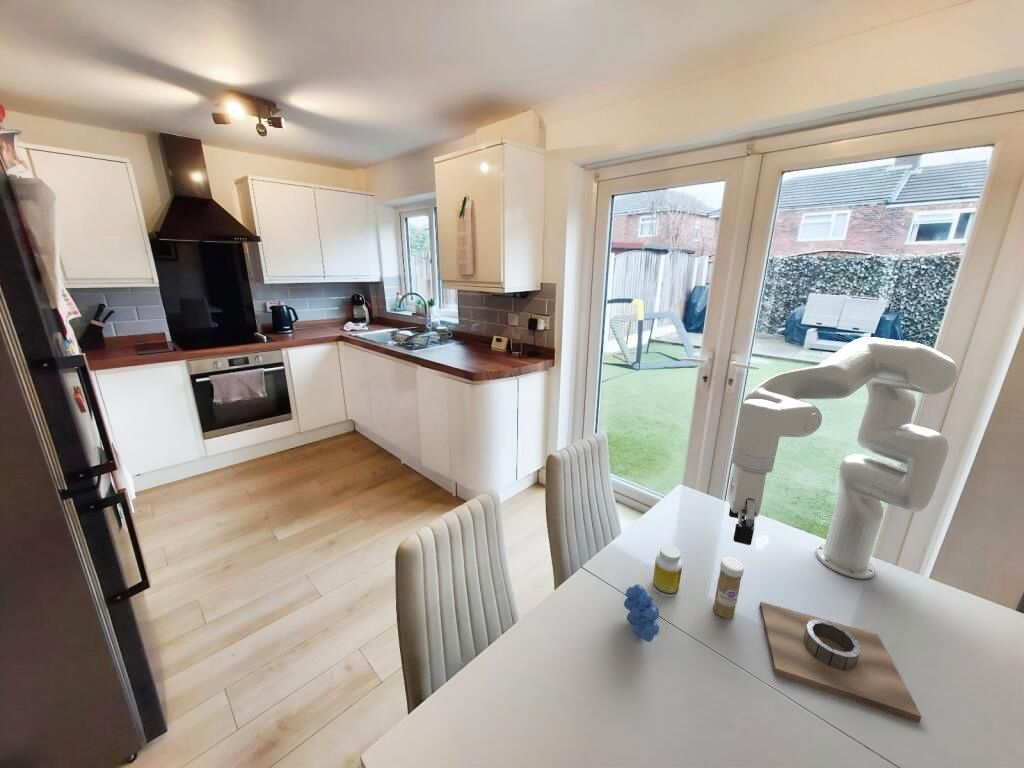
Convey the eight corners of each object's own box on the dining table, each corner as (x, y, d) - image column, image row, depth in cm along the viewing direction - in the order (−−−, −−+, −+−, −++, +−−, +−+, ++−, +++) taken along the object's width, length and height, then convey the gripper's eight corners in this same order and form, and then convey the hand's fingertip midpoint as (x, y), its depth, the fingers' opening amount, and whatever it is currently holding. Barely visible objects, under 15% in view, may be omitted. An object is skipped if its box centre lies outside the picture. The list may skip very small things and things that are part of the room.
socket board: (759, 606, 94) (760, 601, 94) (876, 639, 86) (877, 634, 85) (774, 673, 78) (775, 668, 78) (919, 722, 70) (921, 716, 69)
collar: (799, 626, 87) (802, 614, 86) (847, 640, 84) (851, 627, 83) (809, 660, 79) (813, 646, 78) (863, 677, 76) (867, 663, 75)
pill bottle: (680, 600, 96) (686, 561, 93) (654, 595, 97) (659, 557, 94) (675, 581, 102) (681, 544, 99) (650, 577, 103) (655, 541, 100)
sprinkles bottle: (719, 620, 90) (729, 571, 87) (708, 604, 95) (717, 556, 91) (738, 618, 91) (748, 570, 87) (727, 603, 95) (736, 555, 92)
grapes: (671, 654, 82) (678, 607, 79) (641, 660, 81) (647, 613, 77) (642, 609, 93) (647, 567, 90) (616, 614, 92) (620, 571, 88)
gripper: (728, 440, 91) (717, 505, 96) (737, 473, 76) (723, 548, 80) (766, 446, 89) (752, 513, 93) (782, 481, 73) (765, 559, 78)
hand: (739, 529), depth 87 cm, fingers open, 9 cm apart
